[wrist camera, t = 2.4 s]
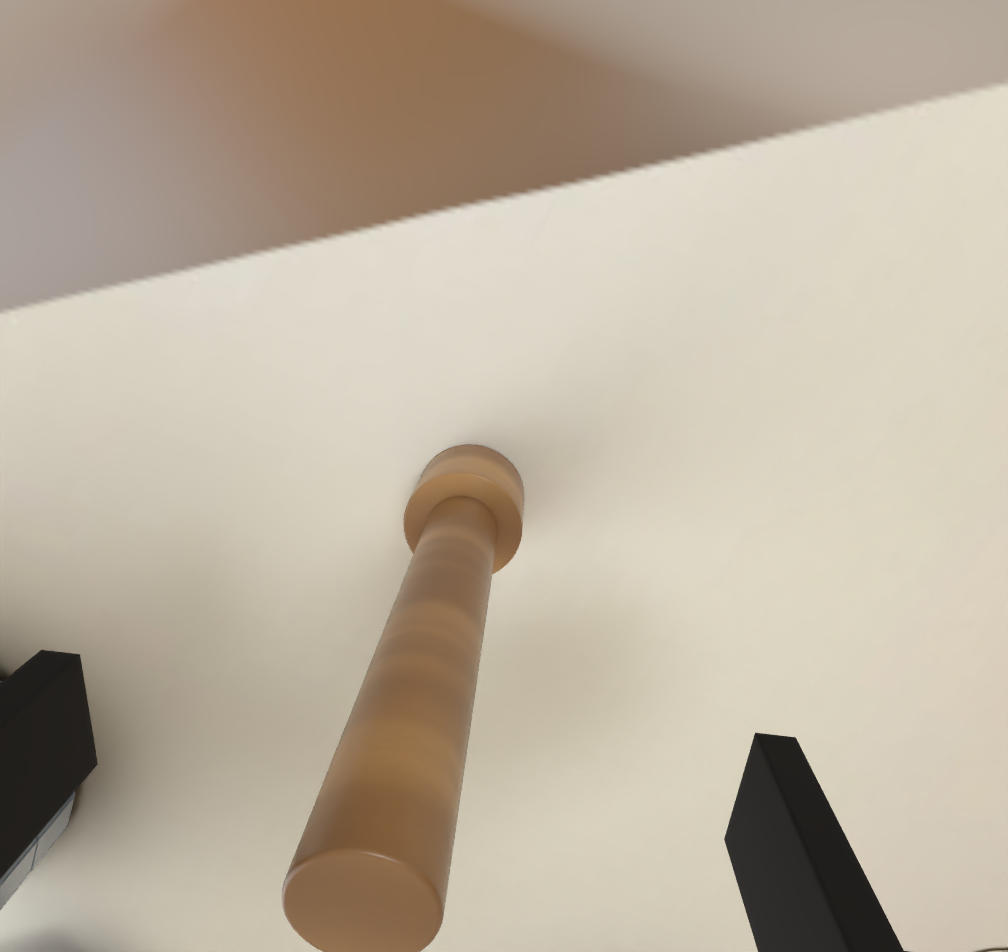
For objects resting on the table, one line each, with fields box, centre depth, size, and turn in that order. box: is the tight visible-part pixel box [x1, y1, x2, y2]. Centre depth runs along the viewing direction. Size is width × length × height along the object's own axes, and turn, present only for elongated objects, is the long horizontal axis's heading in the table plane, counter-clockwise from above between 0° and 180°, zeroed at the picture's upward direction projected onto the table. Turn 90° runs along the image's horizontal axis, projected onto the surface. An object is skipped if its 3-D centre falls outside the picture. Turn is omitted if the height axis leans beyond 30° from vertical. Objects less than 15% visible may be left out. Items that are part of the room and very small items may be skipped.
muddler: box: [282, 445, 524, 952], centre depth 17 cm, size 4×4×16 cm
